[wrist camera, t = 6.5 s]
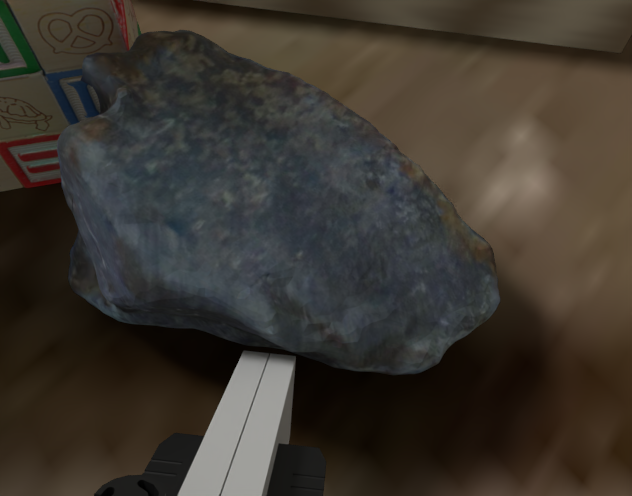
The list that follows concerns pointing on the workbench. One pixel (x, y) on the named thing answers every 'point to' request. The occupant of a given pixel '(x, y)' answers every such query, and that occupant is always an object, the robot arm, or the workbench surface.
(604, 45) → the plank
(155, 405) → the workbench surface
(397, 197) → the rock
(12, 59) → the stack of blocks
